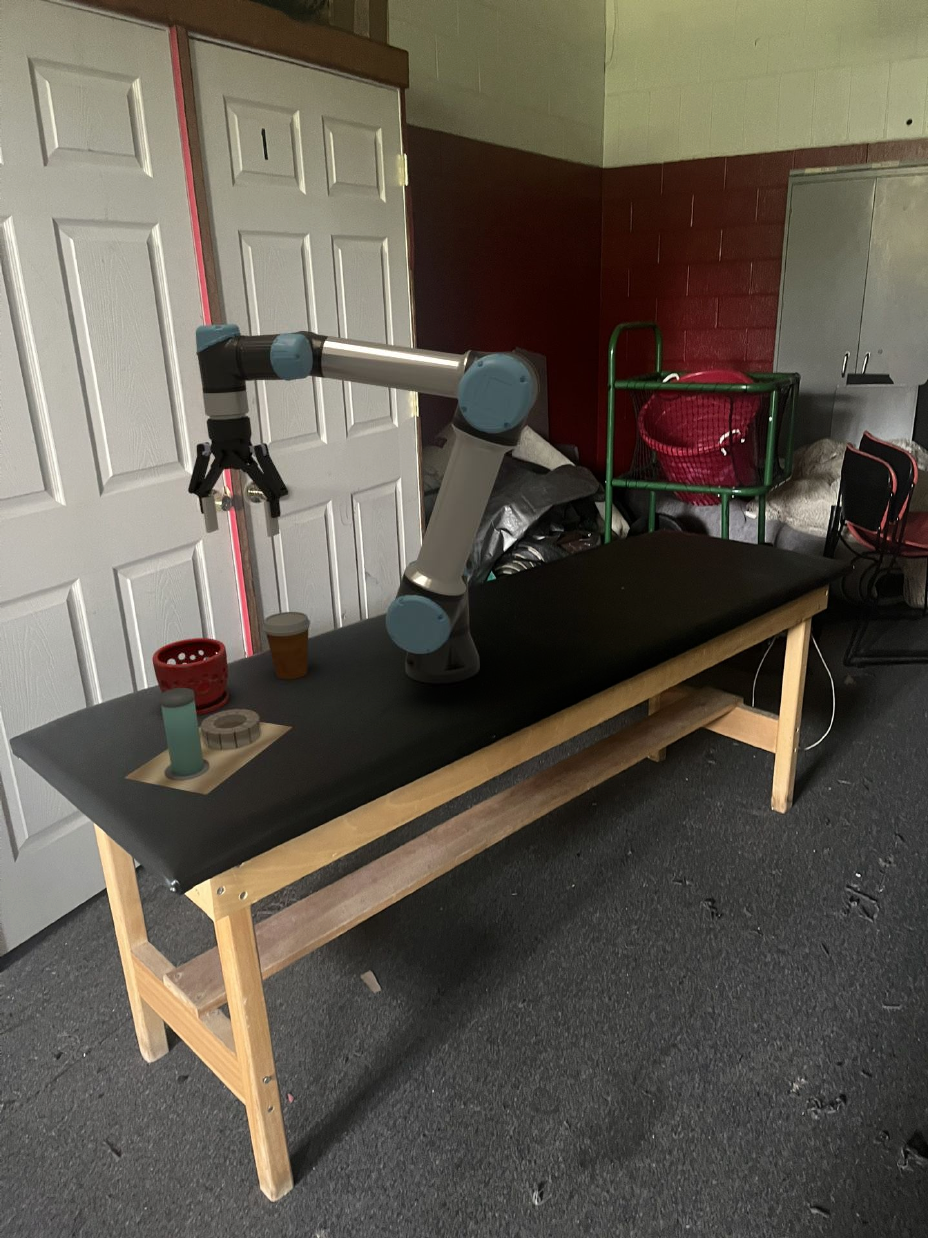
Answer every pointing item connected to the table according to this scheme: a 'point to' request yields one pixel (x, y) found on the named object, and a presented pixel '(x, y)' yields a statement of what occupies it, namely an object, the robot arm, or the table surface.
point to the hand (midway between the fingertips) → (242, 533)
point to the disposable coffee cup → (288, 643)
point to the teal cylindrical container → (182, 731)
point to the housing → (215, 751)
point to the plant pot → (195, 671)
